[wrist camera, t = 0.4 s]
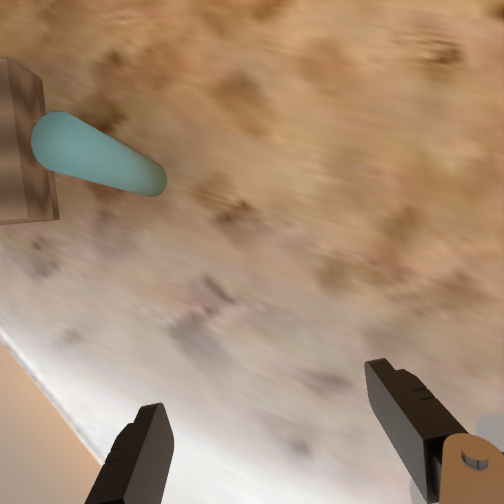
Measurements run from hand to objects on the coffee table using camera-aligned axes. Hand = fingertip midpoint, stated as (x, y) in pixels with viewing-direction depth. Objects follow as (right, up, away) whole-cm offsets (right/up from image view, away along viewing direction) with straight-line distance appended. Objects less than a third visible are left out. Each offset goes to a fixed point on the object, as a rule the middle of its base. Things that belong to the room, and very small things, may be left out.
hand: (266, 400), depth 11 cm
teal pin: (-14, +15, +26) cm, 33 cm away
